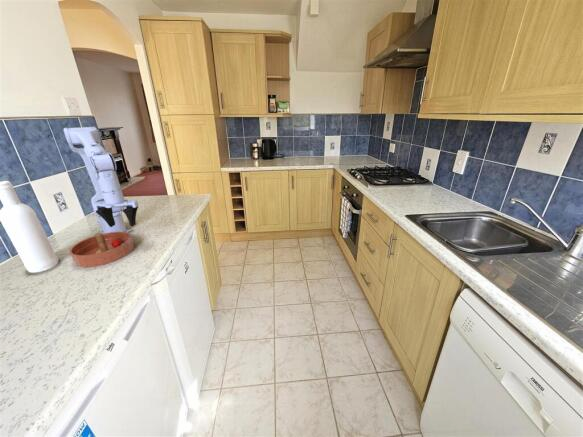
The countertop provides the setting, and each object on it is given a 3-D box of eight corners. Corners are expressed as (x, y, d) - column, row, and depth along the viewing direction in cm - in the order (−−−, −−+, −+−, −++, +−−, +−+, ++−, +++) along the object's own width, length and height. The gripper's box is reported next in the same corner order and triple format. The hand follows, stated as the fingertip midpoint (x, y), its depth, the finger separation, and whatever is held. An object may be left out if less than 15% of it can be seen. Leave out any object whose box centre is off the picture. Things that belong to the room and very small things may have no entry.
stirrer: (92, 255, 89) (84, 236, 85) (107, 248, 93) (101, 229, 90) (103, 258, 87) (95, 238, 84) (118, 250, 92) (111, 231, 88)
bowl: (62, 263, 85) (56, 251, 83) (112, 239, 101) (109, 229, 99) (97, 273, 80) (92, 260, 78) (145, 246, 95) (141, 235, 93)
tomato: (111, 248, 93) (108, 241, 92) (118, 244, 96) (116, 238, 95) (116, 249, 92) (114, 242, 91) (123, 245, 95) (121, 239, 94)
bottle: (30, 266, 84) (-15, 182, 72) (60, 258, 89) (22, 177, 77) (26, 277, 78) (-24, 187, 67) (58, 268, 83) (16, 182, 71)
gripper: (81, 194, 80) (95, 231, 85) (125, 193, 80) (136, 229, 86) (96, 188, 87) (108, 222, 92) (137, 187, 87) (147, 221, 92)
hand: (123, 225), depth 89 cm, fingers open, 7 cm apart
